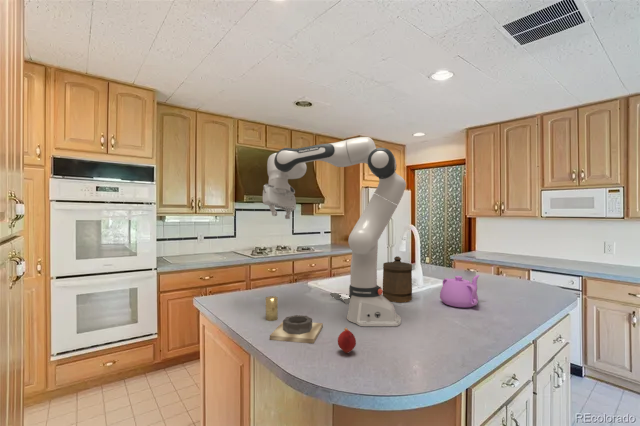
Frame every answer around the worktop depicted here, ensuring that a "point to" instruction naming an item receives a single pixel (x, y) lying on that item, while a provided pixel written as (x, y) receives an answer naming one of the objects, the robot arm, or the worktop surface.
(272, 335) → the jig board
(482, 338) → the worktop surface
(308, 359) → the worktop surface
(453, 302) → the teapot
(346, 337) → the onion
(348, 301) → the cloth
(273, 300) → the brass cylinder peg
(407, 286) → the wooden container
